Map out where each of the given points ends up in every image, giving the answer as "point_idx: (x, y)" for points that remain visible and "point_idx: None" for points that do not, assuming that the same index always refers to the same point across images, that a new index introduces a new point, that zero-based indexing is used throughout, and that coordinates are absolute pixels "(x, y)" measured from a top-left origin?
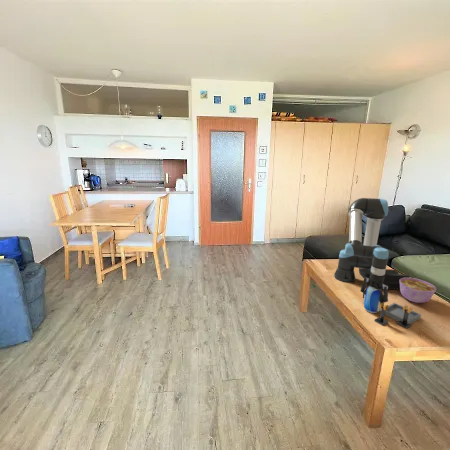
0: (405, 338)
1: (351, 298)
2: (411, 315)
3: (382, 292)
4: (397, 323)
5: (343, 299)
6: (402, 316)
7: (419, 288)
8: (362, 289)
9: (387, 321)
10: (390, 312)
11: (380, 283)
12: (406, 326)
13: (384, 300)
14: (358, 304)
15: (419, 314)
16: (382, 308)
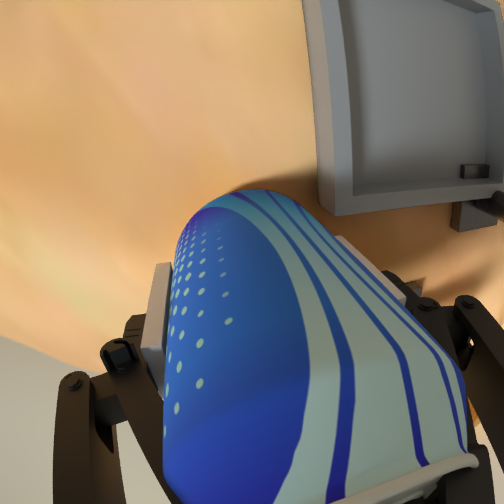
0: (491, 303)
1: (18, 260)
2: (454, 20)
3: (467, 399)
4: (453, 228)
5: (31, 336)
6: (441, 95)
7: None
8: (111, 452)
9: (419, 291)
10: (370, 122)
11: None
12: (494, 221)
13: (458, 360)
14: (121, 285)
15: (497, 10)
16: None
